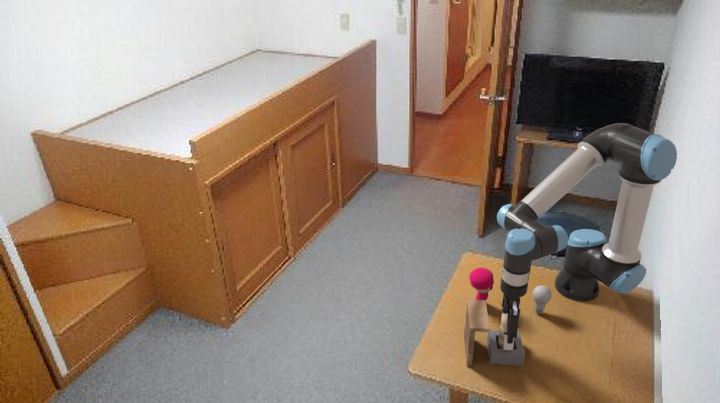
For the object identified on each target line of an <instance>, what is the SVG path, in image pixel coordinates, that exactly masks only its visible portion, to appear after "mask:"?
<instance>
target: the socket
mask: <svg viewBox="0 0 720 403" xmlns="http://www.w3.org/2000/svg"><path fill="white" fill-rule="evenodd" d="M499 333H500V330H490V331H489V332H487V336H486V345H487V351H488V359H489V364H490V365H502V366H503V365H504V366H521V367H522V366H524V360H525V355H526V354H525V350H524V346H523V341H522V337H521V332H519V331H517V338H515V339H514V345H513V350H504V349H499V348H498V341H499Z"/></svg>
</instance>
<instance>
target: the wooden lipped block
mask: <svg viewBox="0 0 720 403" xmlns="http://www.w3.org/2000/svg"><path fill="white" fill-rule="evenodd" d="M488 315H489V314H488V307H487V300H486V301H485V300H475V299H470V298H469V299H467V301H466V313H465V322H464V333H463V339H464V340H463V342H464V351H465V362H466V367H472V366H473V358H474V348H475V347H474V346H475V339H476V333H477V332H480V333H488V332H489V331H491V330H490V329H491V328H490V321H489V316H488Z"/></svg>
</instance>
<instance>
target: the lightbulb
mask: <svg viewBox="0 0 720 403" xmlns="http://www.w3.org/2000/svg"><path fill="white" fill-rule="evenodd" d="M531 295H532V299H533V300H534V303H535V304H534V307H535V309H534V310H535V311H534V312H535V313H536V314H539V315H542V314H543V313H544V310H545V308H546V305H547V304H548V303H549V302H550V301H551V299H552V296H553V295H552V291H551V289H550V288H549V287H548V286H547V285H546V286H545V285H537V286H536V287H534V289H533V290H532V294H531Z"/></svg>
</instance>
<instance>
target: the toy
mask: <svg viewBox="0 0 720 403" xmlns="http://www.w3.org/2000/svg"><path fill="white" fill-rule="evenodd" d="M469 284H470V285H471V287H472V288H474V289H475V290H476V296H475V299H474V300H485V301H486V302H487V300H488V298H489V292H490V291H492V290H493V287H494V284H495V280H494V274H493V272H492V271H491V270H490V269H488V268H486V267H477V268H476V267H475V269H473V270H471V272H470V273H469Z"/></svg>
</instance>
